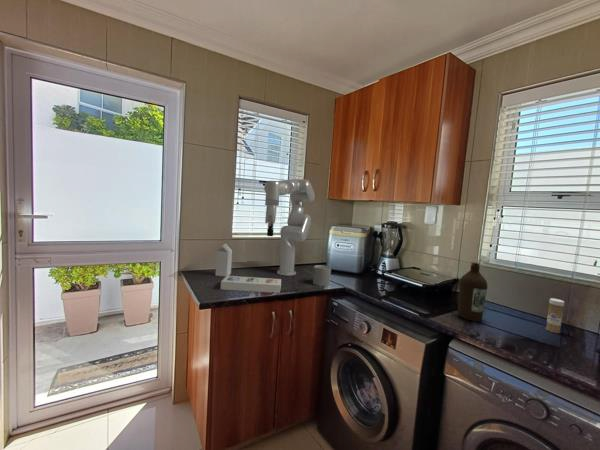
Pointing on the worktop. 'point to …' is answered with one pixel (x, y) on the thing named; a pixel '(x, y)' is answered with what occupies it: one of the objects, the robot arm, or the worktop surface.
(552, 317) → the sprinkles bottle
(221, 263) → the milk carton
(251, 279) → the button three
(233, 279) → the button two
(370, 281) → the worktop surface
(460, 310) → the olive oil
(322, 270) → the coffee mug
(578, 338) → the worktop surface
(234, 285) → the button board
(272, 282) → the button one
